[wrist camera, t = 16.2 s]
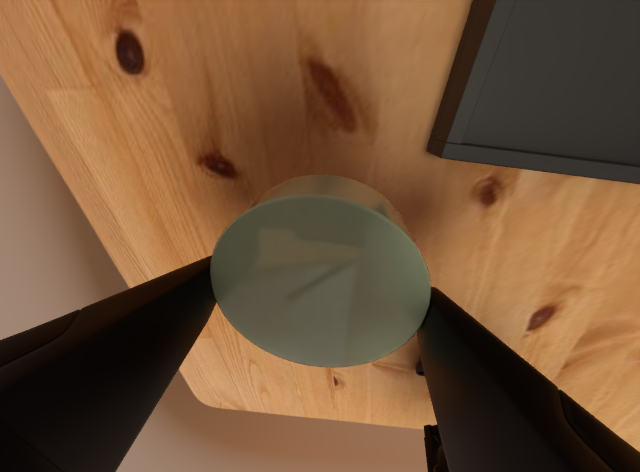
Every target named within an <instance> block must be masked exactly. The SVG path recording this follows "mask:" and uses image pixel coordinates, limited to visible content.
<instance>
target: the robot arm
mask: <svg viewBox="0 0 640 472" xmlns="http://www.w3.org/2000/svg"><path fill="white" fill-rule="evenodd" d="M211 258H212V256H209V257H206V258H204V259H201V260H199V261H196V262H194V263H192V264H189V265H187V266H184V267H182V268H179V269H177V270H174V271H172V272H169V273H167V274H165V275H162V276H160V277H157V278H155V279H152V280H150V281H147V282H145V283H143V284H140V285H138V286H135V287H133V288H130V289H128V290H125V291H123V292H121V293H118V294H116V295H113V296H111V297H108V298H106V299H103V300H101V301H99V302H96V303H94V304H91V305H89V306H86V307H84V308H82V309H81V310H76V311H74V312H72V313H69V314H67V315H64V316H62V317H59V318H57V319H54V320H52V321H49V322H47V323H44V324H42V325H39V326H36V327H34V328H31V329H29V330H26V331H24V332H21V333H18V334H16V335H13V336H10V337H8V338H5V339H2V340H0V472H116V470H117V468H118V467H119V465H120V463H121V462H122V460H123V458H124V457H125V455H126V454H127V452H128V451H129V449H130V447H131V446H132V444H133V442H134V441H135V439H136V438H137V436H138V434H139V432H140V431H141V429H142V428H143V426H144V424H145V423H146V421H147V420H148V418H149V416H150V415H151V413H152V411H153V410H154V408H155V406H156V405H157V403H158V402H159V400H160V398H161V397H162V395H163V393H164V392H165V390H166V388H167V387H168V385H169V384H170V382H171V380H172V379H173V377H174V375H175V374H176V372H177V371H178V369H179V367H180V366H181V364H182V362H183V361H184V359H185V358H186V356H187V354H188V353H189V351H190V349H191V348H192V346H193V344H194V343H195V341H196V340H197V338H198V336H199V335H200V333H201V331H202V330H203V328H204V326H205V325H206V323H207V321H208V319H209V317H210V315H211V313H212V311H213V309H214V307H215V305H216V303H217V301H216V299H215V297H214V293H213V288H212V282H211V276H210V264H211ZM417 336H418V344H419V350H420V357H421V359H420V361H419V363H418V365H417V367H416V369H415V370H416V373H417V374H418V375H420V376H425V377H426V381H427V385H428V389H429V393H430V397H431V401H432V405H433V409H434V413H435V417H436V421H437V425H433V426H431V425H425V426H424V433H425V437H424V440H425V449H426V457H427V467H428V472H640V452H639V451H637V450H636V449H635V448H633V447H632V446H631V445H629V444H628V443H627V442H625V441H624V440H623V439H622V438H620V437H619V436H618V435H616V434H615V433H614V432H613V431H611V430H610V429H609V428H608V427H606V426H605V425H604V424H603V423H601V422H600V421H599V420H598V419H596V418H595V417H594V416H593V415H591V414H590V413H589V412H588V411H586V410H585V409H584V408H583V407H581V406H580V405H579V404H578V403H577V402H575V401H574V400H573V399H572V398H571V397H569V396H568V395H567V394H566V393H564V392H563V391H562V390H558V388H557V386H556V385H555V384H553V383H552V382H551V381H550V380H548V379H547V378H546V377H545V376H544V375H542V374H541V373H540V372H539V371H537V370H536V369H535V368H534V367H533V366H531V365H530V364H529V363H528V362H526V361H525V360H524V359H523V358H522V357H520V356H519V355H518V354H517V353H516V352H514V351H513V350H512V349H511V348H509V347H508V346H507V345H506V344H505V343H503V342H502V341H501V340H500V339H498V338H497V337H496V336H495V335H494V334H492V333H491V332H490V331H489V330H487V329H486V328H485V327H484V326H483V325H481V324H480V323H479V322H478V321H476V320H475V319H474V318H473V317H472V316H470V315H469V314H468V313H467V312H465V311H464V310H463V309H462V308H461V307H459V306H458V305H457V304H456V303H455V302H453V301H452V300H451V299H450V298H448V297H447V296H446V295H445V294H444V293H442V292H441V291H440V290H439V289H437V288H436V287H431V297H430V304H429V308H428V311H427V314H426V317H425V319H424V321H423V323H422V324H421V326H420V328H419V329H418V330H417Z"/></svg>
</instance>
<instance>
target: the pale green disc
mask: <svg viewBox="0 0 640 472" xmlns="http://www.w3.org/2000/svg"><path fill="white" fill-rule="evenodd" d="M210 276H211V282H212V288H213V293H214V297H215V299H216V301H217V304H218V306H219V307H220V309H221V311H222V313H223V314H224V316H225V317H226V318H227V320H228V321H229V322H230V323H231V325H232V326H233V327H234V328H235V329H236V330H237V331H238V332H239V333H240V334H242V335H243V336H244V337H245V338H246V339H248V340H249V341H250V342H252V343H253V344H255V345H256V346H258V347H259V348H261V349H263V350H265V351H267V352H269V353H271V354H273V355H275V356H277V357H280V358H282V359H285V360H288V361H292V362H295V363H299V364H304V365H308V366H316V367H329V368H335V367H349V366H356V365H361V364H366V363H369V362H372V361H375V360H378V359H380V358H383V357H385V356H387V355H389V354H391V353H392V352H394V351H396V350H397V349H399V348H400V347H401V346H403V345H404V344H405V343H406V342H408V341H409V340H410V339H411V338H412V337H413V336H414V334H415V333H416V332H417V330H418V329H419V328H420V326H421V324H422V323H423V321H424V319H425V317H426V314H427V311H428V308H429V304H430V297H431V280H430V276H429V271H428V267H427V265H426V263H425V260H424V258H423V255H422V253H421V251H420V249H419V247H418V245H417V244H416V242H415V240H414V238H413V236H412V234H411V232H410V230H409V228H408V226H407V224H406V222H405V220H404V219H403V217H402V216H401V214H400V212H399V211H398V210H397V209H396V208H395V206H394V205H393V204H392V203H391V202H390V201H389V200H388V199H386V198H385V197H384V196H383V195H382V194H380V193H379V192H377V191H376V190H374V189H373V188H371V187H369V186H367V185H365V184H363V183H361V182H359V181H356V180H352V179H349V178H346V177H341V176H336V175H325V174H314V175H304V176H300V177H295V178H291V179H289V180H286V181H283V182H281V183H279V184H277V185H275V186H273V187H272V188H270V189H269V190H267V191H266V192H265V193H263V194H262V195H261V196H260V197H258V198H257V199H256V200H255V201H254V202H253V203H252V204H251V205H249V206H248V207H247V208H246V209H245V210H244V211H243V212H242V213H241V214H239V215H238V216H237V217H236V218H235V219H234V220H233V221H232V222H231V223H230V224H229V225H228V226H227V227H226V228H225V230H224V231H223V233H222V234H221V236H220V237H219V239H218V241H217V243H216V245H215V248H214V250H213V254H212V258H211V264H210Z"/></svg>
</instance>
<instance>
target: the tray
mask: <svg viewBox="0 0 640 472" xmlns="http://www.w3.org/2000/svg"><path fill="white" fill-rule="evenodd" d="M426 151H427V152H430V153H432V154H434V155H436V156H438V157H440V158H444V159H451V160H459V161H467V162H474V163H482V164H489V165H497V166H505V167H512V168H520V169H528V170H535V171H543V172H551V173H558V174H566V175H574V176H581V177H589V178H597V179H604V180H612V181H620V182H627V183H635V184H640V0H474V1H473V4H472V7H471V10H470V13H469V16H468V20H467V23H466V26H465V29H464V32H463V35H462V39H461V42H460V45H459V48H458V51H457V54H456V58H455V61H454V64H453V67H452V70H451V73H450V76H449V80H448V83H447V86H446V89H445V92H444V95H443V99H442V102H441V105H440V108H439V111H438V114H437V118H436V121H435V124H434V127H433V130H432V133H431V137H430V140H429V143H428V146H427V149H426Z"/></svg>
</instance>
